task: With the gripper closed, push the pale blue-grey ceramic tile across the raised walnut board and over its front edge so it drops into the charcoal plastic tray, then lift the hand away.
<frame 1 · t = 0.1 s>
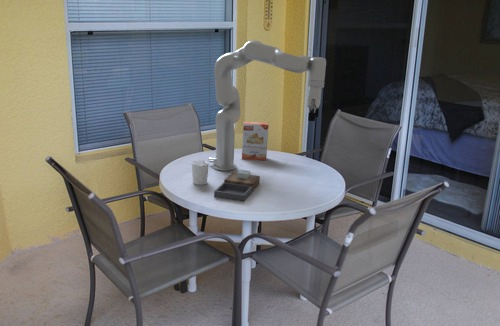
hand: (313, 118, 240), 31 cm above the table, tool pointing down, fingers open, 9 cm apart
white cup: (199, 183, 237), on the table
board: (242, 185, 236), on the table
tile: (243, 176, 236), point 4 cm above the table, touching board
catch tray: (233, 194, 224), on the table
cracker box: (254, 159, 279), on the table
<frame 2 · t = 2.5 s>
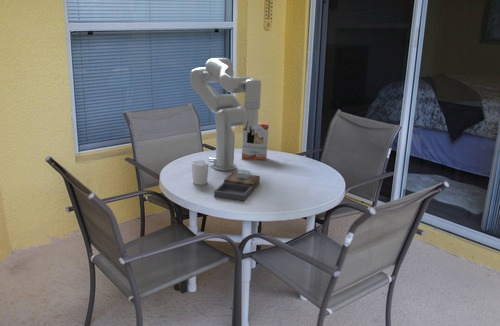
hand: (250, 142, 240), 19 cm above the table, tool pointing down, fingers closed
nothing on the table moved.
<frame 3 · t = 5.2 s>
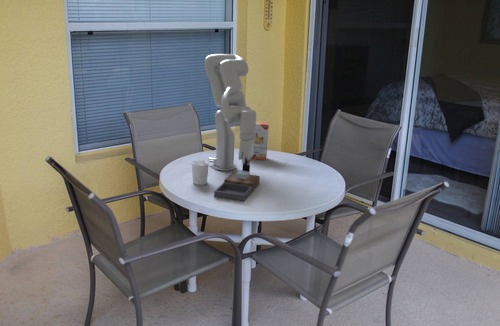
hand: (245, 172, 239), 5 cm above the table, tool pointing down, fingers closed
tile: (242, 177, 235), point 4 cm above the table, touching board, gripper
everything else where it was.
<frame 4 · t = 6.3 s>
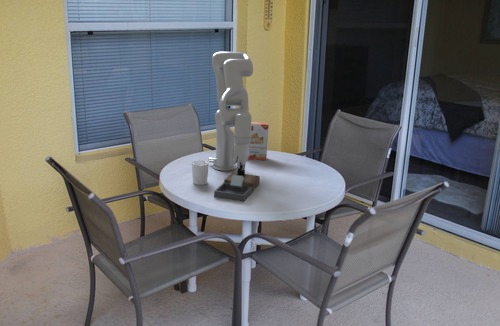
hand: (240, 177, 231), 5 cm above the table, tool pointing down, fingers closed
tile: (237, 182, 228), point 4 cm above the table, tilted 50°
everything else where it was.
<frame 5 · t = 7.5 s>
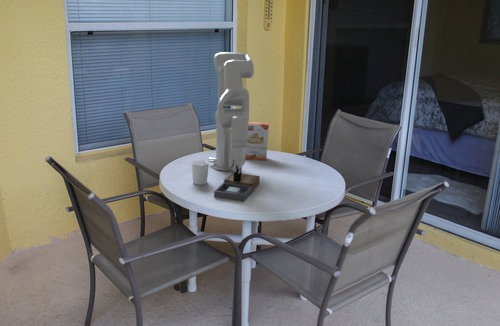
hand: (237, 180, 227), 5 cm above the table, tool pointing down, fingers closed
tile: (233, 189, 223), point 3 cm above the table, tilted 180°, touching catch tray
everything else where it was.
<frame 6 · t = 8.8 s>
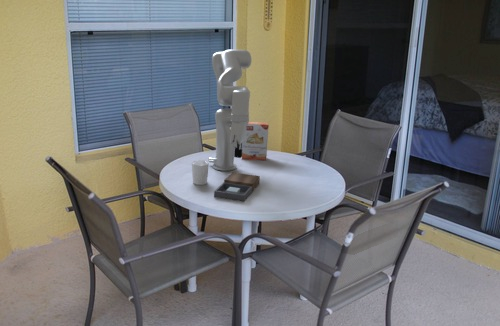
hand: (237, 157, 224), 16 cm above the table, tool pointing down, fingers closed
nothing on the table moved.
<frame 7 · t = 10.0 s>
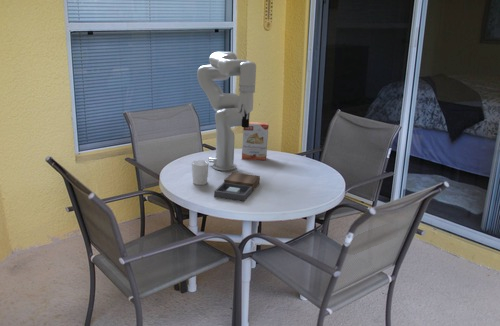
hand: (245, 126, 236), 27 cm above the table, tool pointing down, fingers closed
nothing on the table moved.
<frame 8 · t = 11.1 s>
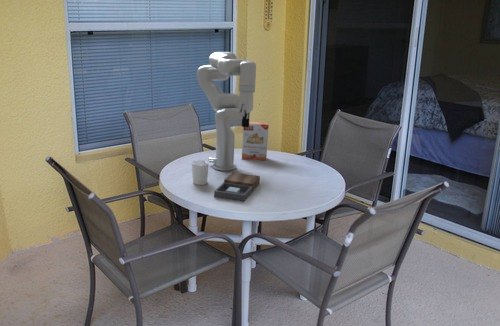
hand: (245, 126, 236), 27 cm above the table, tool pointing down, fingers closed
nothing on the table moved.
at the end: tile inside the target area on the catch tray (0.6 cm from its centre), point 2.9 cm above the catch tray's base; tile point 2.9 cm above the table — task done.
